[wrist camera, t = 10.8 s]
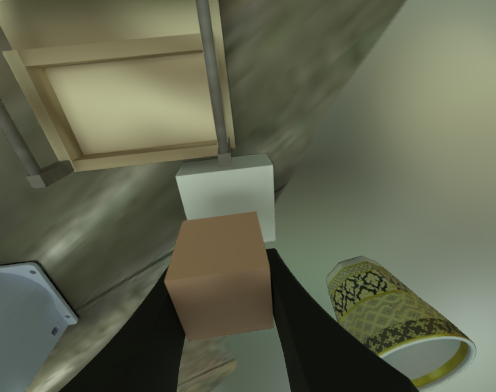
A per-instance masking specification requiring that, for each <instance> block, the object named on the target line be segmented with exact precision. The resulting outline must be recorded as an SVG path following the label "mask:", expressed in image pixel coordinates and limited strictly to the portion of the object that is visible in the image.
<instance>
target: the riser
mask: <svg viewBox="0 0 496 392" xmlns="http://www.w3.org/2000/svg"><path fill="white" fill-rule="evenodd" d="M231 159H232V165H231V166H222V167H219V161H218V159H211V160H202V161H193V162H185V163H182V165H181V167H180V169H179V171H178V173H177V175H176V180H177V184H178V188H179V191H180V195H181V199H182V203H183V206H184V210H185V214H186V218H187V220H194V219H201V218H209V217H216V216H224V215H231V214H239V213H246V212H254V211H256V212H257V216H258V220H259V224H260V228H261V233H262V237H263V241H264V242H269V241H276V237H275V208H274V181H273V164H272V163H271V161H270V159H269V157H268V156H267V154H266V153H263V154H254V155H245V156H237V157H231Z"/></svg>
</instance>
